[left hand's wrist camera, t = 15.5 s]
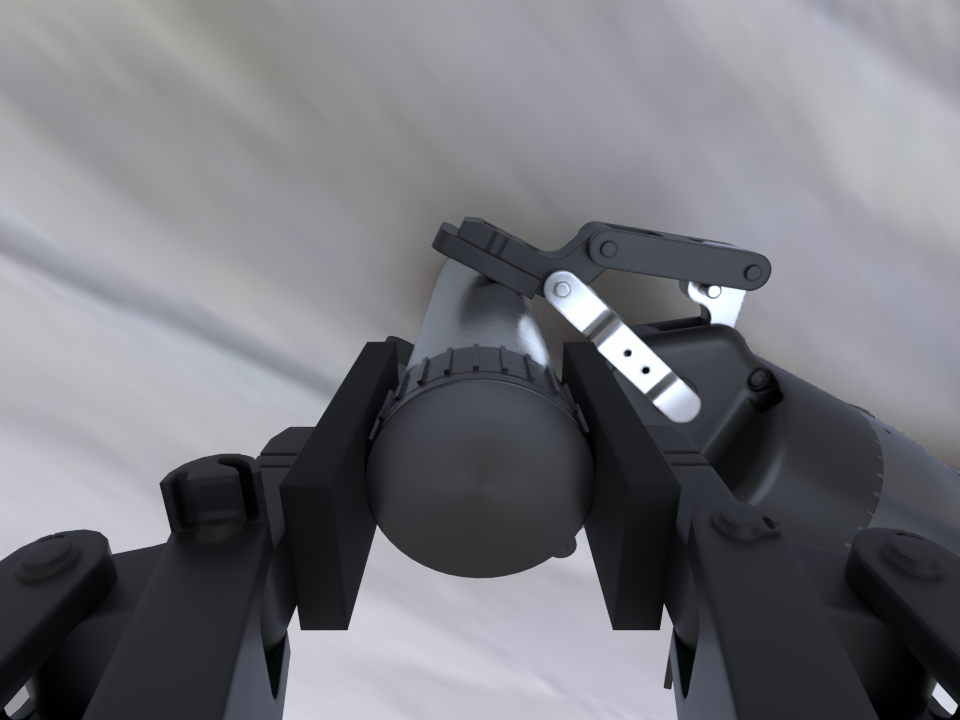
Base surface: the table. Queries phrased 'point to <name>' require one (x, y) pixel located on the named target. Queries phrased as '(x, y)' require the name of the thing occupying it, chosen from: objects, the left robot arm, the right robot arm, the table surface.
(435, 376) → the lid
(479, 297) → the bottle
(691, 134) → the table surface
